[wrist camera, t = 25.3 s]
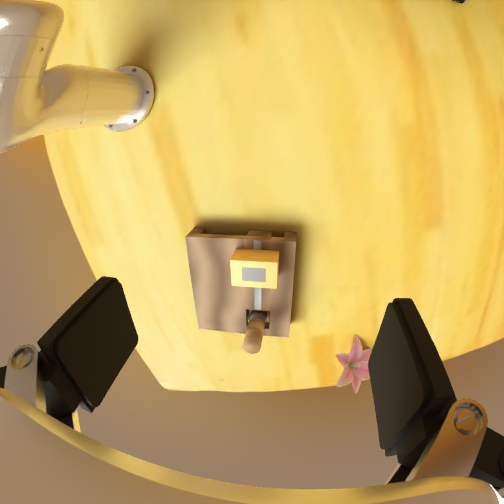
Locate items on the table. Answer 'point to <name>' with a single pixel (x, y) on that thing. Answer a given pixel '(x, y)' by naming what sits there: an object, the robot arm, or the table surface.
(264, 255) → the block
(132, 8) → the table surface
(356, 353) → the lily
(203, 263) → the board
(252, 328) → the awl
